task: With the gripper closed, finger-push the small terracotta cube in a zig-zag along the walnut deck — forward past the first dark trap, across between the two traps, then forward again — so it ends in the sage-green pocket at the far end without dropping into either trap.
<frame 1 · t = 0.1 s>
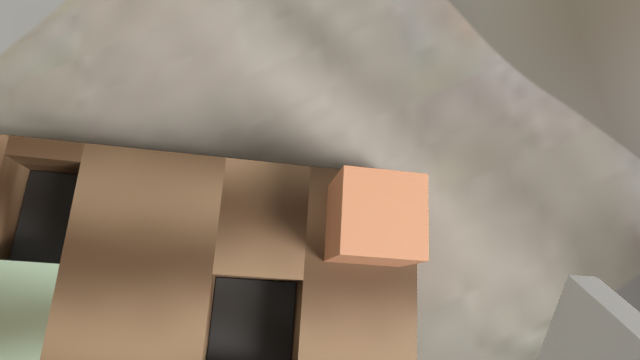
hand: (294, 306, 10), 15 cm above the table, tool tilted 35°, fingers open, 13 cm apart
deck: (206, 276, 25), on the table
cube: (363, 226, 24), point 3 cm above the table, touching deck
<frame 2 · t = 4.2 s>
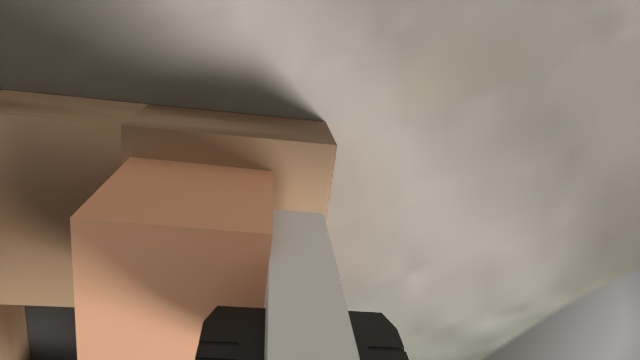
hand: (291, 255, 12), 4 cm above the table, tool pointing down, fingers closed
deck: (7, 252, 16), on the table
cube: (199, 226, 14), point 3 cm above the table, touching deck, gripper
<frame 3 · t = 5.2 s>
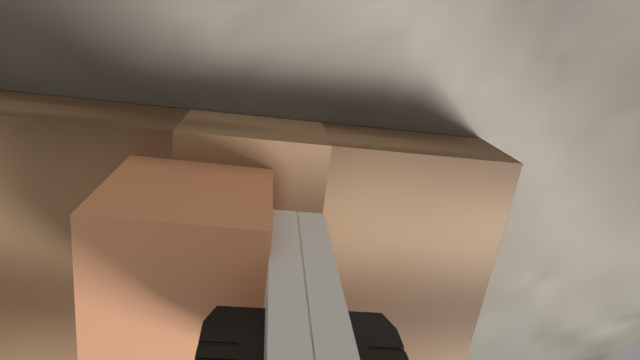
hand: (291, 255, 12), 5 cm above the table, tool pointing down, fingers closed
deck: (173, 262, 17), on the table
cube: (199, 225, 14), point 3 cm above the table, touching deck, gripper
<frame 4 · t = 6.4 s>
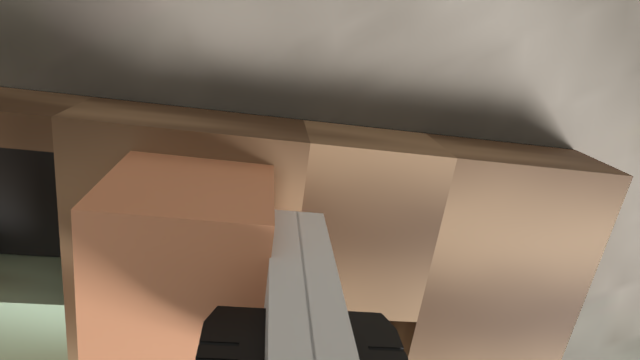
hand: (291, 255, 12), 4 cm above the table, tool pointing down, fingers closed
deck: (272, 267, 18), on the table
cube: (200, 221, 13), point 3 cm above the table, touching deck, gripper
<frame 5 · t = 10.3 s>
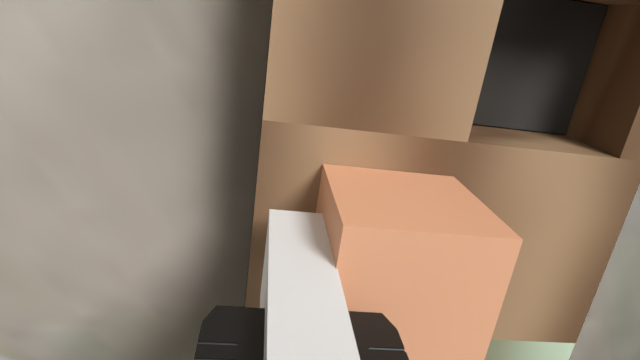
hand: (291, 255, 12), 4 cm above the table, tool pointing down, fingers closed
deck: (430, 132, 16), on the table
cube: (377, 231, 14), point 3 cm above the table, touching gripper
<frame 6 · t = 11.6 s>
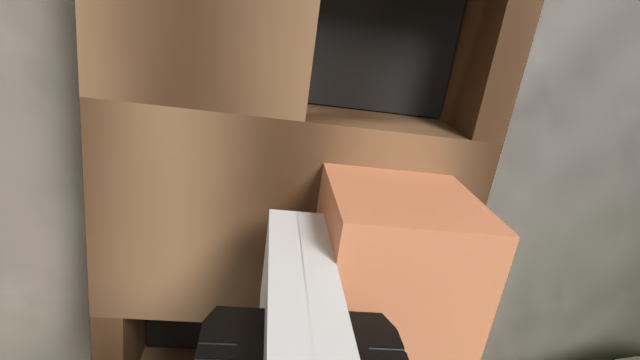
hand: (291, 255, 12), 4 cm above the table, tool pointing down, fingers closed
deck: (297, 115, 16), on the table
cube: (377, 229, 14), point 3 cm above the table, touching deck, gripper
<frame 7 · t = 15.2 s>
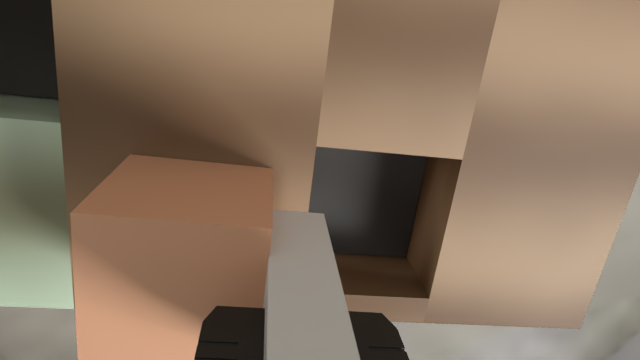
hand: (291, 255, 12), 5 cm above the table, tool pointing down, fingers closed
deck: (294, 121, 16), on the table
cube: (199, 224, 14), point 3 cm above the table, touching gripper
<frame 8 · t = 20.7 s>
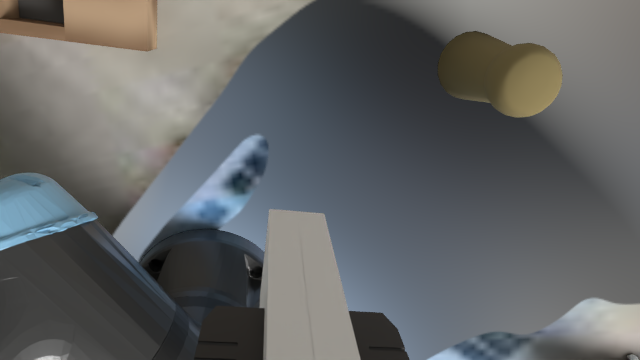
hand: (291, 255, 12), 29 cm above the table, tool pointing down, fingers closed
cork: (468, 65, 41), on the table
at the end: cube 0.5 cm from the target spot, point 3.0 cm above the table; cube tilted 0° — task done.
